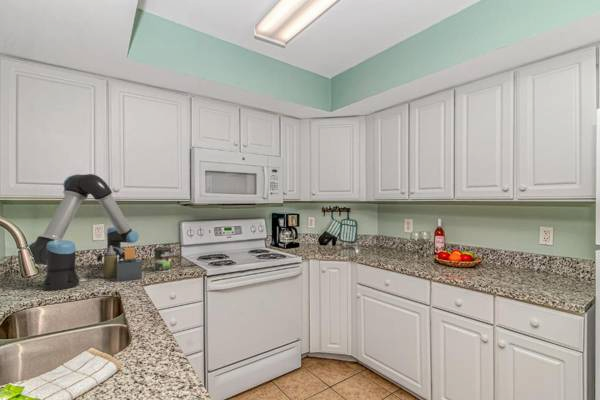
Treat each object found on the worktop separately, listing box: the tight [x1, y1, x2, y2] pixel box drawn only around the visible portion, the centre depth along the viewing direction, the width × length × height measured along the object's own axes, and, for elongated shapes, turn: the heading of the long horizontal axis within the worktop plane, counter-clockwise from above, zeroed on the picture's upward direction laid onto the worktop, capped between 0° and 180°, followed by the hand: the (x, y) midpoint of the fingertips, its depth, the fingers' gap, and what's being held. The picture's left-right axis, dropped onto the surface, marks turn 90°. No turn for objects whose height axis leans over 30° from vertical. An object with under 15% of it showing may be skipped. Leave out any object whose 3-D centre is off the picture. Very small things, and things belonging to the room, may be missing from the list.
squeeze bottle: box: [102, 246, 117, 279], centre depth 175 cm, size 8×8×18 cm
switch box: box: [116, 258, 143, 283], centre depth 172 cm, size 12×8×10 cm, turn 118°
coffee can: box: [153, 246, 173, 273], centre depth 192 cm, size 10×10×14 cm
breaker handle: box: [123, 247, 137, 261], centre depth 174 cm, size 6×4×7 cm, turn 118°
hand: (110, 259), depth 171 cm, fingers closed on squeeze bottle, 6 cm apart
